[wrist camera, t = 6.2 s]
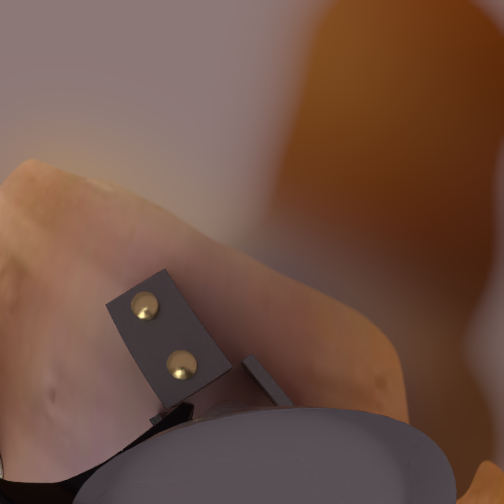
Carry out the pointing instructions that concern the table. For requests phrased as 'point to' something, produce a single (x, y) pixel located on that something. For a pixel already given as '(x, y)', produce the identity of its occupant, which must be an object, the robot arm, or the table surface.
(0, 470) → the coffee can
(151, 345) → the riveted post bracket
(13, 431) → the table surface
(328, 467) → the link pin
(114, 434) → the table surface
